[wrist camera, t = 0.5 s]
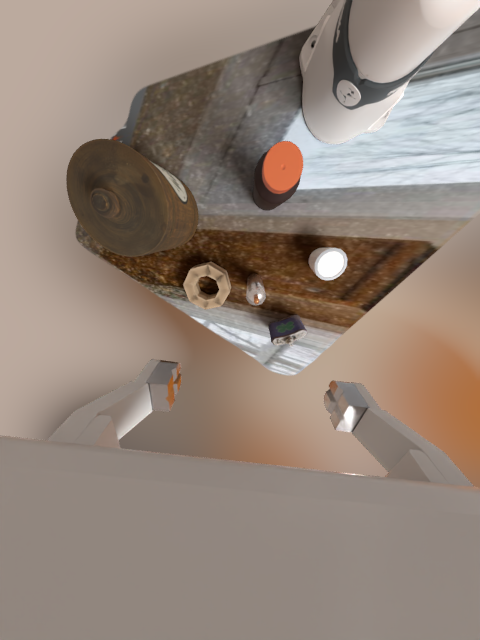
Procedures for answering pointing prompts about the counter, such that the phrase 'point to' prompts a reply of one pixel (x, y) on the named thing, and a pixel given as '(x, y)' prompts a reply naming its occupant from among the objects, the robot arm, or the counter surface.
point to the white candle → (255, 289)
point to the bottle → (277, 175)
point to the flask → (287, 330)
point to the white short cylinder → (328, 262)
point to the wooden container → (129, 200)
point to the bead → (201, 297)
